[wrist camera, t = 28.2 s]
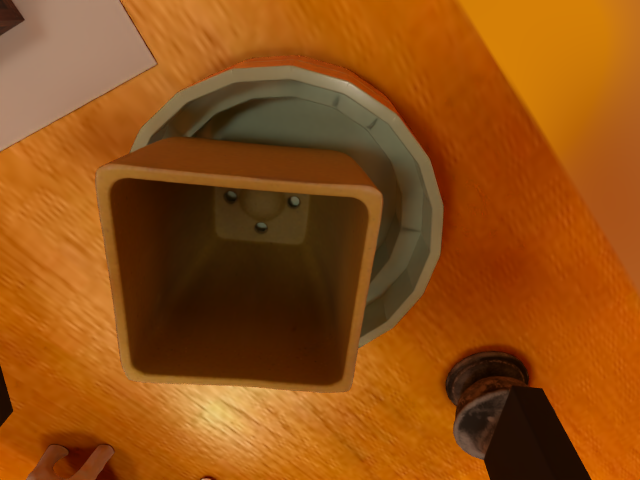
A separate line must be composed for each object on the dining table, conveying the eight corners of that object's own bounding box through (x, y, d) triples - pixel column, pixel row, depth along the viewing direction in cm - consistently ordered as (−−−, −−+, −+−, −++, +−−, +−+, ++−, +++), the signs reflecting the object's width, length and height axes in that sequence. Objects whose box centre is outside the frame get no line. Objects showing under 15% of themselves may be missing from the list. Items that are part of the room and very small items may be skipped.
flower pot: (362, 119, 22) (388, 190, 14) (340, 274, 26) (350, 398, 18) (175, 101, 21) (89, 163, 13) (183, 261, 25) (122, 382, 17)
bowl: (473, 215, 24) (504, 260, 20) (279, 342, 29) (269, 402, 24) (305, -16, 20) (297, -24, 15) (103, 176, 24) (51, 214, 20)
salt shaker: (534, 408, 31) (641, 622, 20) (446, 420, 31) (504, 633, 21) (531, 340, 28) (652, 544, 17) (435, 356, 29) (494, 560, 18)
